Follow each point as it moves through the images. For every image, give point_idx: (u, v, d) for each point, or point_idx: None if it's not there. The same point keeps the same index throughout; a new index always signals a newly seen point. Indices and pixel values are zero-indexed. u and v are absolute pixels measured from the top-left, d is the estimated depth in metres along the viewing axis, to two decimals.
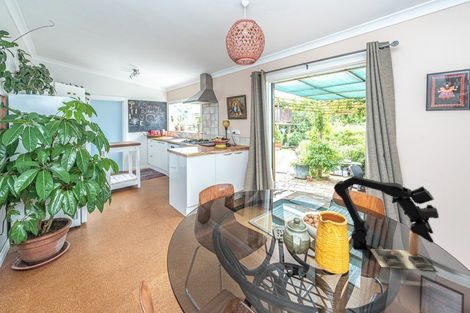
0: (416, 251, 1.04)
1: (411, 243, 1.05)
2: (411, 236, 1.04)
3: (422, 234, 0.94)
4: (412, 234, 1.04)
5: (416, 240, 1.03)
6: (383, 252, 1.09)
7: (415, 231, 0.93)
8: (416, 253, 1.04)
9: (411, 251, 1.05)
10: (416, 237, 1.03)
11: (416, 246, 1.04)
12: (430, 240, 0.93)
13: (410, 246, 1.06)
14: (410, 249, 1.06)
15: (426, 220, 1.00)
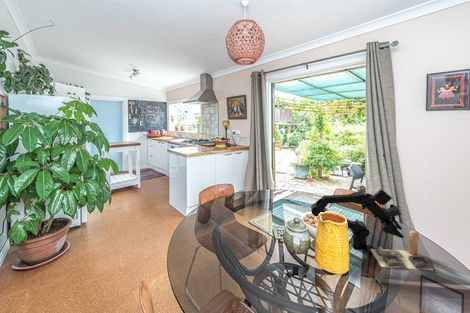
0: (416, 251, 1.04)
1: (411, 243, 1.05)
2: (411, 236, 1.04)
3: (393, 232, 1.05)
4: (412, 234, 1.04)
5: (416, 240, 1.03)
6: (383, 252, 1.09)
7: (387, 231, 1.03)
8: (416, 253, 1.04)
9: (411, 251, 1.05)
10: (416, 237, 1.03)
11: (416, 246, 1.04)
12: (401, 236, 1.04)
13: (410, 246, 1.06)
14: (410, 249, 1.06)
15: (393, 218, 1.13)
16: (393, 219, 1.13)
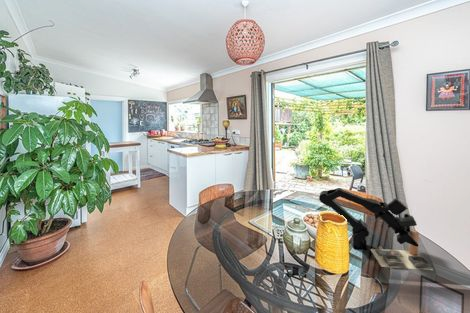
0: (416, 251, 1.04)
1: None
2: None
3: (407, 240, 1.04)
4: (412, 234, 1.04)
5: (416, 240, 1.03)
6: (383, 252, 1.09)
7: (402, 242, 1.00)
8: (416, 253, 1.04)
9: (411, 251, 1.05)
10: (416, 237, 1.03)
11: (416, 246, 1.04)
12: (415, 244, 1.03)
13: (410, 246, 1.06)
14: (410, 249, 1.06)
15: (408, 230, 1.08)
16: (408, 231, 1.08)
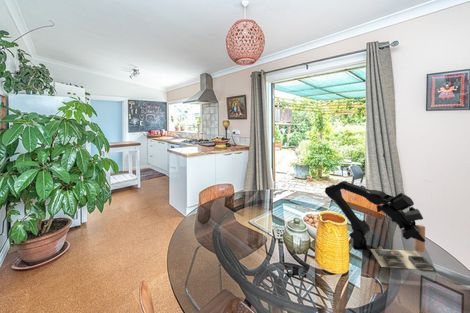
0: (423, 247, 0.97)
1: None
2: None
3: (413, 235, 0.96)
4: (418, 229, 0.96)
5: (423, 235, 0.96)
6: (383, 252, 1.09)
7: (408, 237, 0.93)
8: (423, 249, 0.97)
9: (417, 248, 0.98)
10: (423, 232, 0.96)
11: (423, 242, 0.96)
12: (422, 240, 0.96)
13: (416, 242, 0.98)
14: (416, 245, 0.98)
15: (413, 225, 1.00)
16: (413, 226, 1.00)
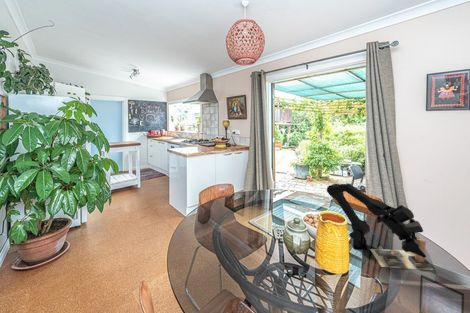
0: (422, 261, 0.97)
1: None
2: None
3: (414, 251, 0.95)
4: (419, 243, 0.96)
5: (423, 250, 0.96)
6: (383, 252, 1.09)
7: (407, 250, 0.93)
8: (423, 263, 0.97)
9: (417, 262, 0.98)
10: (423, 247, 0.96)
11: None
12: (423, 255, 0.94)
13: (416, 256, 0.98)
14: (416, 259, 0.99)
15: (413, 234, 1.02)
16: (413, 235, 1.02)
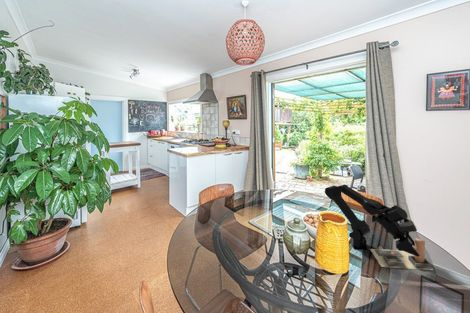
0: (422, 261, 0.97)
1: None
2: (417, 245, 0.97)
3: (408, 250, 0.96)
4: (418, 243, 0.97)
5: (422, 249, 0.96)
6: (383, 252, 1.09)
7: (401, 249, 0.94)
8: (423, 263, 0.97)
9: (417, 261, 0.98)
10: (422, 246, 0.96)
11: (422, 256, 0.97)
12: (416, 254, 0.95)
13: (416, 256, 0.98)
14: (416, 259, 0.99)
15: (407, 233, 1.04)
16: (407, 234, 1.04)
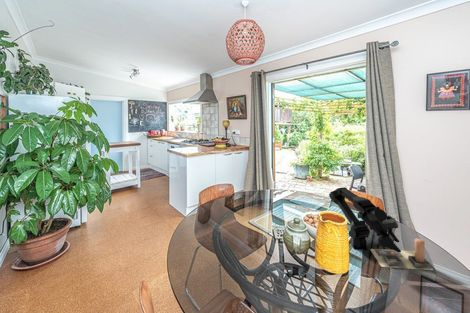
0: (422, 261, 0.97)
1: (417, 252, 0.98)
2: (417, 245, 0.97)
3: (390, 246, 1.00)
4: (418, 243, 0.97)
5: (422, 249, 0.96)
6: (383, 252, 1.09)
7: (383, 245, 0.98)
8: None
9: (417, 261, 0.98)
10: (422, 246, 0.96)
11: (422, 256, 0.97)
12: (398, 250, 0.99)
13: (416, 256, 0.98)
14: (416, 259, 0.99)
15: (390, 230, 1.08)
16: (390, 231, 1.08)
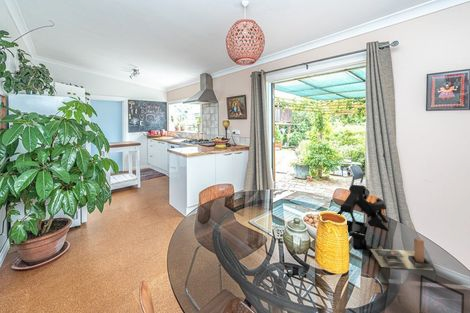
0: (422, 261, 0.97)
1: (416, 252, 0.98)
2: (416, 245, 0.97)
3: (378, 225, 1.08)
4: (417, 242, 0.97)
5: (422, 249, 0.96)
6: (383, 252, 1.09)
7: (372, 224, 1.07)
8: None
9: (417, 261, 0.98)
10: (421, 246, 0.96)
11: (422, 255, 0.97)
12: (386, 229, 1.07)
13: (415, 255, 0.98)
14: (416, 259, 0.99)
15: (380, 212, 1.16)
16: (379, 213, 1.16)
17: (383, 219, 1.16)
